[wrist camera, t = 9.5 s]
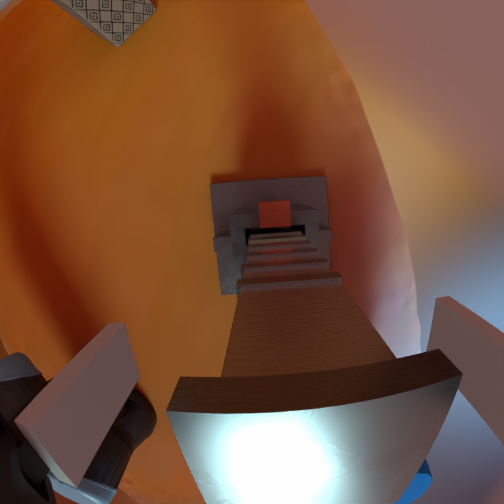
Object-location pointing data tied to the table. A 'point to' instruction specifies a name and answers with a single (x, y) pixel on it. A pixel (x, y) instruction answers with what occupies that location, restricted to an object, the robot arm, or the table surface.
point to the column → (307, 393)
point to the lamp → (107, 16)
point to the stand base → (246, 218)
